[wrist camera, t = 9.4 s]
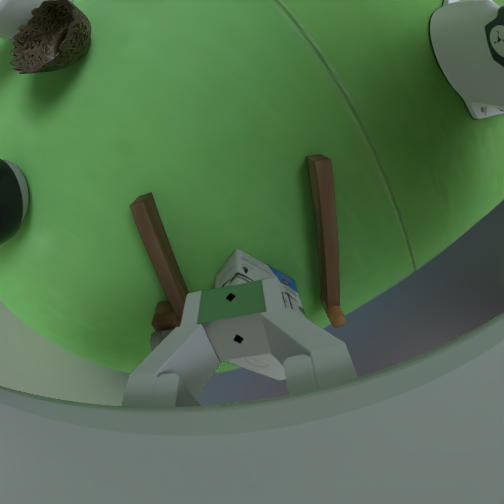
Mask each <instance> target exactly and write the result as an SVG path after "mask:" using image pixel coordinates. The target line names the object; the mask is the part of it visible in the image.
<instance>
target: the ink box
mask: <svg viewBox="0 0 504 504" xmlns="http://www.w3.org/2000/svg"><path fill="white" fill-rule="evenodd" d="M272 276H277V277H278V281H279V285H280V290H281V294H282V298H283V302H284V307H285V308H288V307H290V308H291V309H293V310H294V311H296V312H297V313H299V314H301V315H302V316H304V317H305V314H304V310H303V307H302V304H301V301H300V298H299V295H298V291H297V288H296V285H295V282H294V280H293V279H291V278H289V277H288V276H286V275H284V274H282V273H280V272H279V271H277V270H275V269H273V268H272V267H270V266H268V265H266V264H264V263H263V262H261V261H259V260H257V259H256V258H254V257H252V256H250V255H249V254H247V253H245V252H243V251H241V250H239V249H236V250H235V251H234V252H233V254H232V255H231V257H230V258H229V259H228V261H227V262H226V263H225V265H224V266H223V267H222V269H221V270H220V271H219V273H218V274H217V275H216V277H215V288H219V287H225V286H231V285H232V286H233V285H238V284H242V283H247V282H252V281H257V280H262V279H264V278H268V277H272ZM305 318H306V317H305ZM225 361H227V362H230V363H232V364H235V365H238V366H240V367H243V368H245V369H248V370H251V371H254V372H257V373H259V374H262V375H265V376H268V377H271V378H274V379H276V380H283V379H286V377H285V370H284V366H283V365H282V364H281V363H280V362H279V361H278V360H277V359H276V358H275V357H274V356H273V355H272V354H271V353H269V354H263V355H256V356H249V357H243V358H237V359H231V360H225Z"/></svg>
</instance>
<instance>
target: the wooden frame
mask: <svg viewBox="0 0 504 504" xmlns="http://www.w3.org/2000/svg"><path fill="white" fill-rule="evenodd" d="M307 164H308V171H309V178H310V185H311V192H312V200H313V208H314V217H315V226H316V235H317V245H318V256H319V268H320V281H321V301H322V304H323V307H324V309H325V311H326V314H327V316H328V318H329V319H330V322H331V324H332V326H333V327H335V328H339V327H341V326H343V325H344V324H345V322H346V318H345V316H344V314H343V312H342V310H341V308H340V280H339V250H338V232H337V217H336V205H335V194H334V184H333V175H332V166H331V159H329V158H327V157H325V156H323V155H321V154H319V155H313V156H307ZM130 209H131V211H132V214H133V217H134V219H135V222H136V225H137V227H138V230H139V232H140V235H141V237H142V240H143V242H144V245H145V247H146V250H147V252H148V255H149V257H150V259H151V262H152V264H153V266H154V269H155V271H156V273H157V275H158V278H159V280H160V282H161V284H162V287H163V289H164V291H165V293H166V295H167V297H168V299H169V301H164V302H159V303H158V304H157V307H156V310H155V314H154V317H153V321H152V326H153V328H154V329H155V331H156V332H153V333H152V335H151V339H150V343H151V349H152V351H153V350H154V349H155V348H156V347H157V346H158V345H159V344H160V343H161V342H162V341H163V340H164V339H165V338H166V337H167V336H168V335H169V334H170V333H171V332H172V331H173V330H174V329H175V328H176V327H180V325H181V320H182V315H183V310H184V305H185V300H186V296H187V294H188V293H189V292H188V289H187V287H186V285H185V282H184V280H183V277H182V275H181V272H180V270H179V267H178V265H177V262H176V259H175V257H174V254H173V252H172V249H171V246H170V244H169V241H168V238H167V236H166V233H165V230H164V227H163V224H162V222H161V219H160V216H159V213H158V210H157V207H156V204H155V201H154V198H153V195H152V193H149V194H145V195H142V196H139V197H138V198H137V199H136V200H135V201H134V202H133V203H132V204H131V205H130Z"/></svg>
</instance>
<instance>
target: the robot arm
mask: <svg viewBox="0 0 504 504" xmlns="http://www.w3.org/2000/svg"><path fill="white" fill-rule="evenodd" d="M430 35H431V41H432V45H433V49H434V52H435V55H436V58H437V60H438V63H439V65H440V67H441V69H442V71H443V73H444V75H445V76H446V78H447V80H448V81H449V83H450V84H451V85H452V87H453V88H454V89H455V90H456V91H457V93H458V94H459V95H460V96H461V97H462V98H463V99H464V101H465V103H466V105H467V107H468V110H469V112H470V114H471V115H472V117H473V118H475V119H482V118H486V117H490V116H494V115H499V114H503V113H504V6H502V7H500V6H499V5H497V4H496V3H494V2H493V1H492V0H468V1H460V0H444V3H443V6H442V7H441V8H439V9H437V10H436V11H435V12H434V14H433V15H432V18H431V22H430ZM269 353H271V354H272V355H273V356H274V357H275V358H276V359H277V360H278V361H279V362H280V363H281V364H282V365H283V366H284V370H285V377H286V383H287V390H288V395H284V396H279V397H273V398H267V399H261V400H254V401H247V402H238V403H230V404H220V405H207V406H201V405H200V404H199V403H198V401H197V399H198V397H199V396H200V394H201V392H202V391H203V390H204V388H205V386H206V385H207V383H208V382H209V380H210V378H211V377H212V375H213V374H214V372H215V370H216V369H217V367H218V366H219V364H220V361H225V360H231V359H237V358H243V357H249V356H256V355H263V354H269ZM0 504H504V313H502V314H501V315H499V316H497V317H496V318H494V319H492V320H491V321H489V322H487V323H486V324H484V325H482V326H480V327H478V328H477V329H475V330H473V331H471V332H469V333H467V334H465V335H463V336H461V337H460V338H458V339H455V340H453V341H451V342H450V343H447V344H445V345H443V346H441V347H439V348H436V349H434V350H432V351H430V352H427V353H425V354H422V355H420V356H417V357H415V358H412V359H410V360H408V361H405V362H402V363H400V364H397V365H394V366H392V367H389V368H386V369H383V370H380V371H377V372H374V373H371V374H368V375H365V376H361V377H357V374H356V372H355V368H354V366H353V363H352V361H351V358H350V356H349V353H348V350H347V347H346V345H345V343H344V342H342V341H341V340H339V339H338V338H336V337H334V336H333V335H331V334H330V333H328V332H327V331H325V330H324V329H322V328H321V327H319V326H317V325H316V324H314V323H313V322H311V321H310V320H308V319H307V318H305V317H304V316H302V315H301V314H299V313H297V312H296V311H294V310H293V309H291V308H290V307H288V308H285V307H284V302H283V298H282V294H281V290H280V285H279V281H278V277H277V276H272V277H268V278H264V279H262V280H257V281H252V282H247V283H242V284H238V285H233V286H232V285H231V286H225V287H219V288H213V289H207V290H203V291H196V292H191V293H188V294H187V296H186V300H185V305H184V310H183V315H182V320H181V325H180V327H176V328H175V329H174V330H173V331H172V332H171V333H170V334H169V335H168V336H167V337H166V338H165V339H164V340H163V341H162V342H161V343H160V344H159V345H158V346H157V347H156V348H155V349H154V350H153V351H152V352H151V353H150V354H149V355H148V356H147V357H146V358H145V359H144V360H143V361H142V362H141V363H140V364H139V365H138V366H137V367H136V368H135V369H134V370H133V371H132V373H131V374H130V375H129V379H128V383H127V386H126V390H125V394H124V398H123V402H122V406H109V405H98V404H88V403H79V402H72V401H66V400H60V399H54V398H49V397H43V396H39V395H33V394H29V393H25V392H21V391H17V390H13V389H9V388H6V387H2V386H0Z"/></svg>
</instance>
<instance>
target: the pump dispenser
mask: <svg viewBox="0 0 504 504" xmlns="http://www.w3.org/2000/svg"><path fill="white" fill-rule="evenodd" d="M28 202H29V192H28V186H27V182H26V179H25V177H24V175H23V173H22V172H21V170H20V169H19V168H18V167H17V166H16V165H15V164H13V163H12V162H10V161H7V160H1V159H0V245H1V244H2V243H4V242H6V241H7V240H9V239H10V238H11V237H13V236H14V235H15V234H16V233H17V231H18V230H19V228H20V225H21V223H22V221H23V220H24V217H25V215H26V212H27V208H28Z"/></svg>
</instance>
